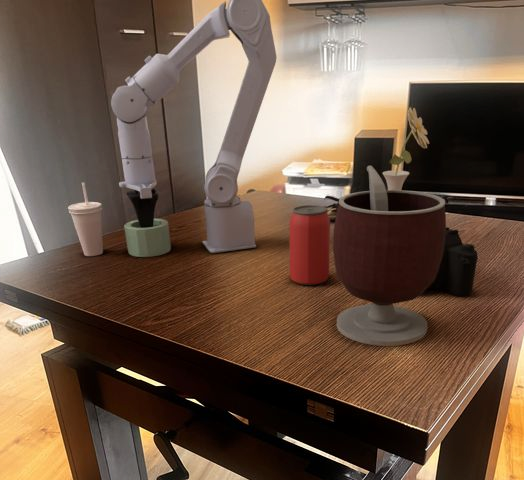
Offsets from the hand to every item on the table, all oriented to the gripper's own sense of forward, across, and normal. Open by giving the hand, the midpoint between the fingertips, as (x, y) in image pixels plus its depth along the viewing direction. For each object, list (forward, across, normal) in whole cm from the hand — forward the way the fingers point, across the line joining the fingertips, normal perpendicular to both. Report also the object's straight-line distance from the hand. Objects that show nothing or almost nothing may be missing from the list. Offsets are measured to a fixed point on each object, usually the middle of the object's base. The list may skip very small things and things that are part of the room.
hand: (146, 228), depth 107 cm
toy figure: (+5, -6, +43) cm, 44 cm away
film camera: (+5, +39, +39) cm, 55 cm away
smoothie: (+5, -3, -11) cm, 12 cm away
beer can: (+5, +29, +23) cm, 37 cm away
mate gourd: (+5, +49, +25) cm, 55 cm away
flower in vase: (+5, +16, +47) cm, 50 cm away
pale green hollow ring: (+5, 0, 0) cm, 5 cm away
